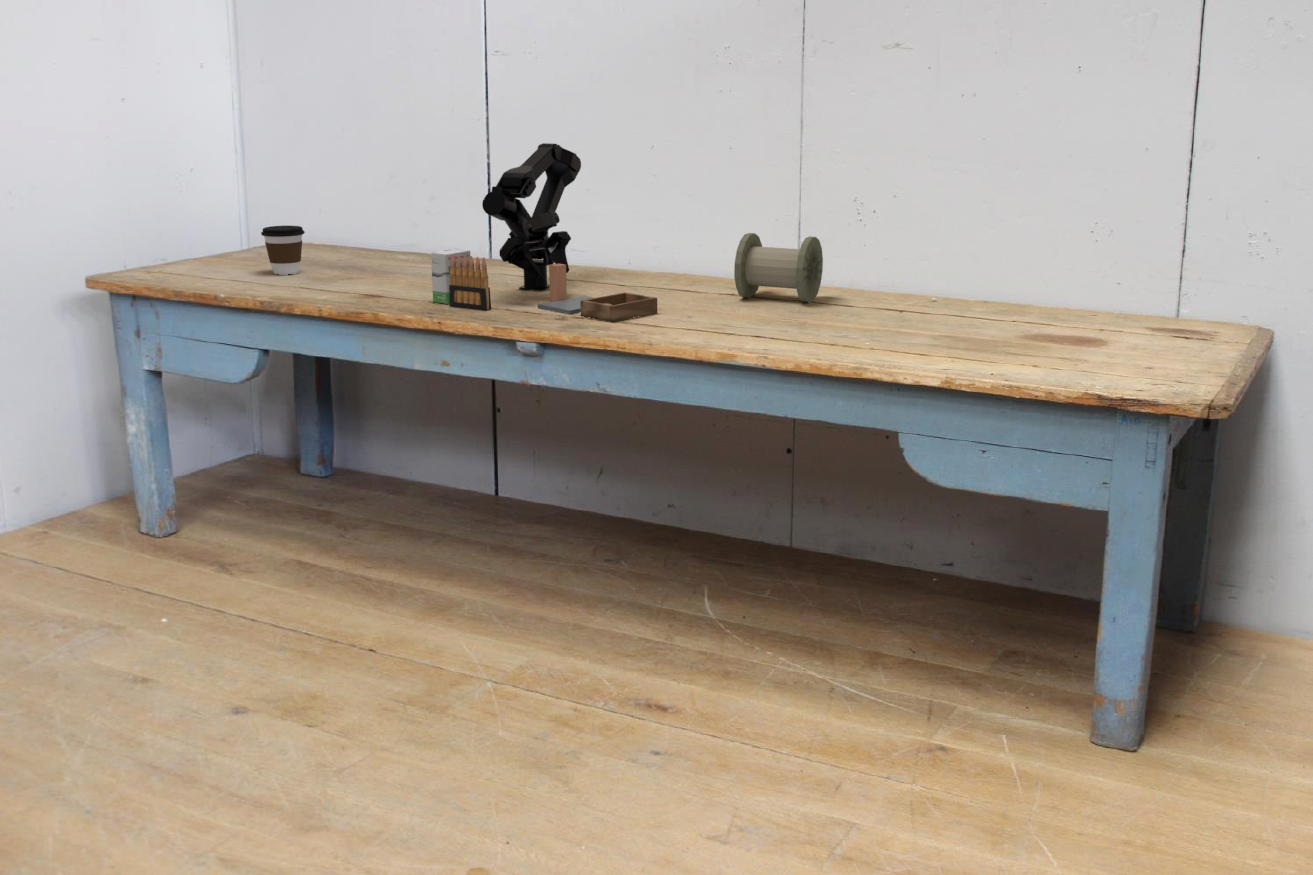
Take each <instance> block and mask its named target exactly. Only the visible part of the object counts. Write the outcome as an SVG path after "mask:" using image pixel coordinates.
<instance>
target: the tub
mask: <svg viewBox="0 0 1313 875" xmlns="http://www.w3.org/2000/svg"><path fill="white" fill-rule="evenodd" d="M580 304H581V313H580V317H582V316H585V317H584V318H587V317H590V318H589V319H592V318H594V319H593V320H598V319H599V320H598V321H603V320H604V322H608V321H609V322H610V323H616V321H617V322H621V321H620V320H622V321H625V320H624V319H627V320H630V319H629V318H632V319H634V318H633V317H637V318H639V317H638V316H642V317H645V316H646V315H647V316H651V314H652V315H656V313H657V314H658V297H654V296H650V295H649V296H648V295H644V294H643V295H642V294H636V293H632V292H631V293H630V292H620V293H614V294H609V295H604V296H603V295H602V296H599V297H594V298H592V299H586V300H581V301H580ZM609 322H608V323H609Z"/></svg>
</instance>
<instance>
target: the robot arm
mask: <svg viewBox="0 0 1313 875" xmlns="http://www.w3.org/2000/svg"><path fill="white" fill-rule="evenodd" d="M581 168H582V161H581V159H580V157H579V156H578V155H577V154H576V153H575V152H573V151H571V150H568V149H567V148H564V147H562V146H561V145H560V144H558V143H547V142H546V143H545V142H544V143H541V144H538V145H537V149H536V150H534V152H533V153H532V154H531V155H530V156H529V157H528V158H527V159H526V160H525V161H524V162H523V163H522V164H521V165H519V166H517V167H513V168H510V169H508V170H506V171H504V172H503V174H502V175H501V177H500V178H499V180H498V181H497V184H496V185H494V186H492V187H491V191H490V192H488V193H487V194H486V195H484V198H483V200H482V203H481V204H482V209H483V211H484V213H485V214H487V215H488V216H490V217H493V218H495V219H497V220H499V221H504V222H505V224H506V226H507V227H508V228H509V230H510V232H509V234H508V235H509V237H508V238H507V239H506V241H505V242H504V243H503V245H502V246H501V247H500V249H499V257H500V259H501V260H502V262H503V263H505V262H508V264H509V265H511V264H512V265H514V266H516V267H517V268H519V269H522V270H523V285H522V286H519V287H518V290H521V291H522V290H523V291H541V292H542V291H546V290H547V289H548V290H549V284H548V267H547V266H549V265H552V264H558V263H559V264H565V265H566V274H567V273H569V272H570V267H569V264H568V258H567V255H566V252H567V251H566V248H567V246H568V244H569V242H570V241H571V240H572V237H571V235H570V234H569V233H568V231H566V230H562V231H554V232H552V233H551V235H549V230H550V229H552V228H555V227H557V226H558V225H557V224H559V223H560V216H559V214H558V213H557V212H556V211H557V208H558V206H559V203H560V201H561V199H562V196H563V194H564V190H565V189H566V187H567V186H569V185H570V184H572V183H573V182H574V181H575V180H576V178H577V176H578V174H579V173H580V171H581ZM544 173H545V175H546V180H545V183H544V185H543V188H542V190H541V192H540V195H539V197H538V200H537V202H536V205H535V208H534V210H533V213H532V215H530V214H529V211H527V209H526V207H525V206H524V204H523V202H522V200H520V199H526V198H529V197H531V196H532V194H533V193H534V191H535V190H536V188H537V183H536V181H537V180H538V179H539V178H540V177H541V176H542V175H543V174H544Z"/></svg>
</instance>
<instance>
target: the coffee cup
mask: <svg viewBox="0 0 1313 875" xmlns="http://www.w3.org/2000/svg"><path fill="white" fill-rule="evenodd" d="M305 233H306V232H305V230H304V229H303V227H302V226H301V225H272V226H267V227H263V228H262V231H261V233H260V234H261V236H263V237H264V243H265V248H266V252H267V256H268V260H269V263H270V265H271V269H272V272H273V273H274V275H275V274H279V275H278V276H289V275H288V274H294V275H298V274H299V272H300V268H301V265H300V264H301V261H302V250H303V248H302V247H303V235H304V234H305Z"/></svg>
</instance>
